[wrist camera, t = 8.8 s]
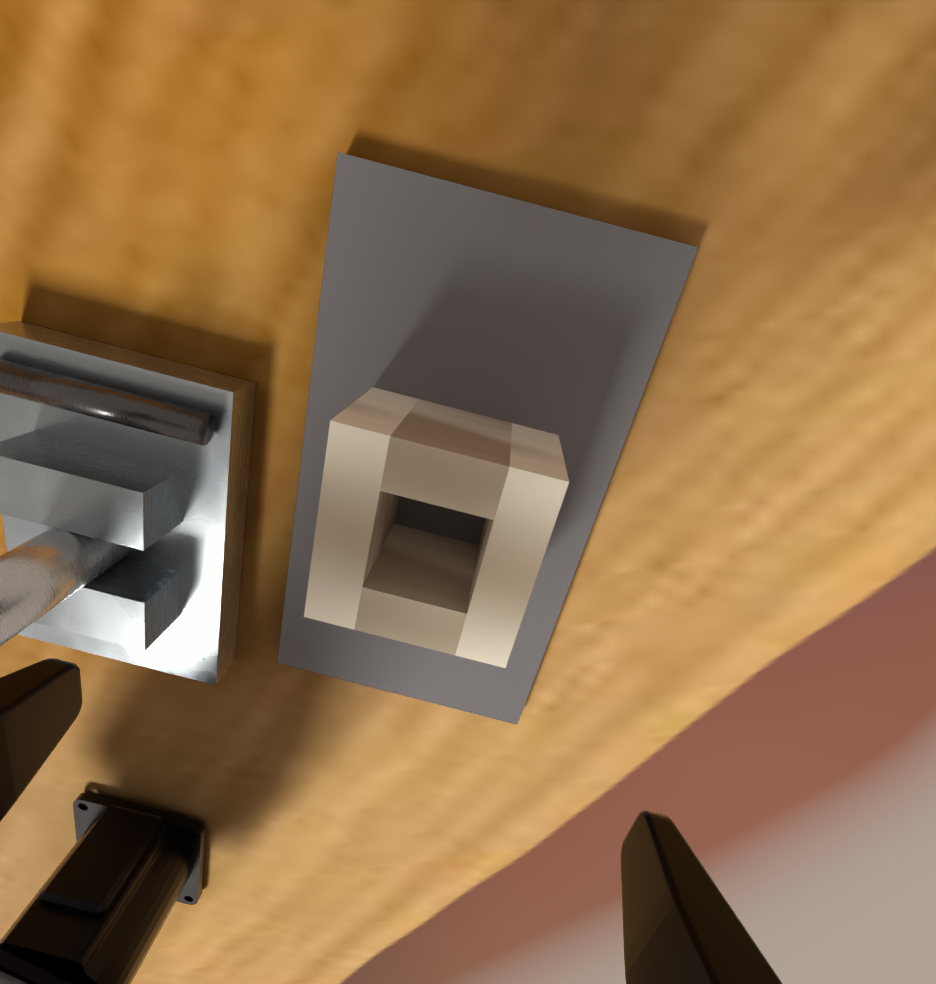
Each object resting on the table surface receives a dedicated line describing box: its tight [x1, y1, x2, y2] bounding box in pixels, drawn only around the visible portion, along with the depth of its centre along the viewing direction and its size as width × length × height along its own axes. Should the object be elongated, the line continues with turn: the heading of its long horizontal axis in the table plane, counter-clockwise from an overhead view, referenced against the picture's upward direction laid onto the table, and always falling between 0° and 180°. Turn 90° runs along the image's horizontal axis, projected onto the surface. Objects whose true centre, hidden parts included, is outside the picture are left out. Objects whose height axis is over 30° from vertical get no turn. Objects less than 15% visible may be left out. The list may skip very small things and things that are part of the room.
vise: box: [0, 321, 256, 685], centre depth 16 cm, size 12×8×8 cm, turn 167°
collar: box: [304, 387, 569, 668], centre depth 16 cm, size 6×6×4 cm
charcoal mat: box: [277, 152, 699, 724], centre depth 18 cm, size 18×10×1 cm, turn 166°
